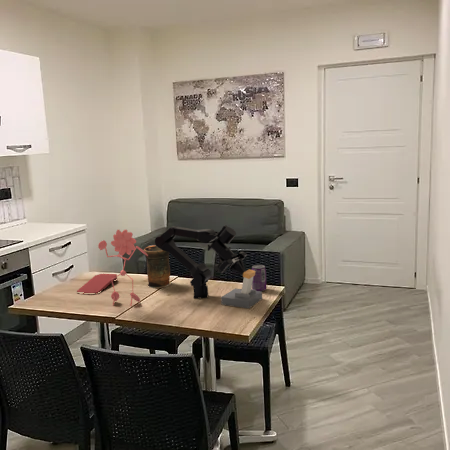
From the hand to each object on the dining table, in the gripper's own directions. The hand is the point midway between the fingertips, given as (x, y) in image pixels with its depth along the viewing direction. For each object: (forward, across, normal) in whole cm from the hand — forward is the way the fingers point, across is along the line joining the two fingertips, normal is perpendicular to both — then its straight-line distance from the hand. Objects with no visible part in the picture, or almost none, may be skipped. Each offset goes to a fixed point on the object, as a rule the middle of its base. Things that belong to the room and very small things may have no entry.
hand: (245, 275), depth 219 cm
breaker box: (+7, 0, -11) cm, 13 cm away
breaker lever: (+6, 0, -7) cm, 9 cm away
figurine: (-30, +20, -45) cm, 58 cm away
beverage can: (+7, -18, -11) cm, 23 cm away
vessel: (-32, -9, -47) cm, 58 cm away
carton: (-53, +7, -67) cm, 85 cm away
